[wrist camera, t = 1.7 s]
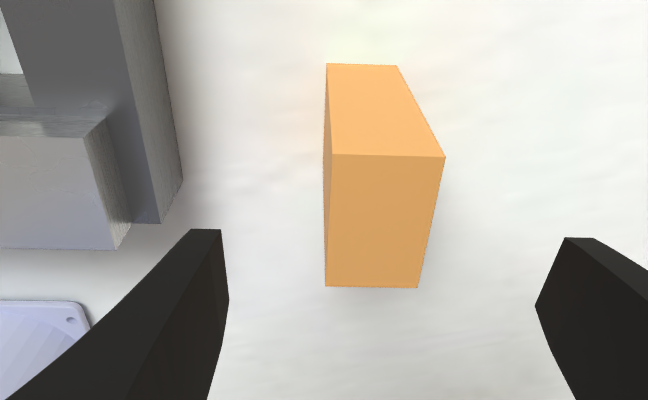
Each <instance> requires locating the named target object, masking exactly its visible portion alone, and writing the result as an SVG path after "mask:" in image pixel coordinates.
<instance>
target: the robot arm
mask: <svg viewBox="0 0 648 400" xmlns="http://www.w3.org/2000/svg"><path fill="white" fill-rule="evenodd" d="M228 305H229V293H228V285H227V276H226V268H225V260H224V251H223V243H222V234H221V229H190V230H189V231H188V232H187V233H186V234H185V235H184V236H183V237H182V238H181V239H180V240H179V241H178V242H177V243H176V245H175V246H174V247H173V248H172V249H171V250H170V251H169V252H168V253H167V254H166V255H165V256H164V257H163V258H162V259H161V261H160V262H159V263H158V264H157V265H156V266H155V267H154V268H153V269H152V270H151V271H150V272H149V273H148V274H147V275H146V276H145V277H144V278H143V279H142V280H141V281H140V282H139V283H138V284H137V285H136V286H135V287H134V288H133V289H132V290H131V291H130V292H129V293H128V294H127V295H126V296H125V297H124V298H123V299H122V300H121V301H120V302H119V303H118V304H117V305H116V306H115V307H114V308H113V309H112V310H111V311H109V312H108V313H107V314H106V315H105V316H104V317H103V318H102V319H101V320H100V321H98V322H97V323H96V324H95V325H94V326H93V327H92V328H91V329H90V327H89V324H88V321H87V319H86V316H85V314H84V311H83V309H82V307H81V306H80V305H79V304H78V303H75V302H70V301H13V300H0V400H207V397H208V393H209V390H210V386H211V383H212V379H213V376H214V372H215V369H216V365H217V361H218V358H219V354H220V351H221V347H222V342H223V336H224V331H225V325H226V318H227V312H228ZM535 308H536V311H537V314H538V317H539V320H540V323H541V326H542V329H543V332H544V334H545V337H546V340H547V342H548V345H549V347H550V350H551V352H552V354H553V356H554V358H555V360H556V362H557V364H558V366H559V368H560V370H561V372H562V374H563V376H564V378H565V380H566V382H567V384H568V386H569V387H570V389H571V391H572V393H573V395H574V397H575V399H576V400H648V270H646V269H644V268H643V267H641V266H640V265H638V264H637V263H635V262H633V261H632V260H630V259H629V258H627V257H625V256H624V255H622V254H620V253H619V252H617V251H615V250H614V249H612V248H610V247H609V246H607V245H605V244H603V243H602V242H600V241H598V240H596V239H594V238H571V237H565V238H564V240H563V242H562V245H561V247H560V249H559V251H558V254H557V256H556V258H555V260H554V263H553V265H552V267H551V270H550V272H549V274H548V276H547V279H546V281H545V283H544V285H543V288H542V290H541V292H540V295H539V297H538V299H537V301H536V304H535Z"/></svg>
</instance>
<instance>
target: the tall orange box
mask: <svg viewBox="0 0 648 400" xmlns="http://www.w3.org/2000/svg"><path fill="white" fill-rule="evenodd" d="M445 158H446V157H445V155H444V153H443V151H442V149H441V147H440V145H439V144H438V142H437V140H436V138H435V136H434V134H433V132H432V130H431V129H430V127H429V125H428V123H427V121H426V119H425V117H424V116H423V114H422V112H421V110H420V108H419V106H418V104H417V102H416V101H415V99H414V97H413V95H412V93H411V91H410V89H409V88H408V86H407V84H406V82H405V80H404V78H403V76H402V74H401V73H400V71H399V69H398V67H397V66H396V65H366V64H336V63H327V69H326V94H325V119H324V144H323V198H324V244H325V286H334V287H391V288H417V287H418V283H419V278H420V273H421V269H422V264H423V260H424V255H425V250H426V246H427V241H428V236H429V232H430V227H431V223H432V218H433V213H434V209H435V204H436V200H437V195H438V190H439V186H440V181H441V176H442V172H443V167H444V163H445Z"/></svg>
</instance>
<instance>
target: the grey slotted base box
mask: <svg viewBox="0 0 648 400" xmlns="http://www.w3.org/2000/svg"><path fill="white" fill-rule="evenodd" d="M0 7H1V10H2V13H3V16H4V19H5V22H6V24H7V27H8V30H9V33H10V36H11V39H12V42H13V45H14V47H15V50H16V53H17V56H18V59H19V62H20V65H21V67H22V70H23V73H24V74H0V248H17V249H66V250H114V251H116V250H117V248H118V246H119V245H120V243H121V241H122V240H123V238H124V237H125V235H126V233H127V232H128V230H129V228H130V227H131V225H132V223H148V224H161V223H162V221H163V219H164V217H165V215H166V213H167V211H168V209H169V207H170V205H171V203H172V201H173V200H174V198H175V196H176V194H177V192H178V190H179V188H180V186H181V184H182V182H183V176H182V170H181V164H180V158H179V152H178V146H177V140H176V134H175V128H174V122H173V116H172V110H171V104H170V98H169V92H168V86H167V80H166V74H165V68H164V62H163V56H162V50H161V44H160V38H159V32H158V26H157V20H156V14H155V8H154V2H153V0H0Z"/></svg>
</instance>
